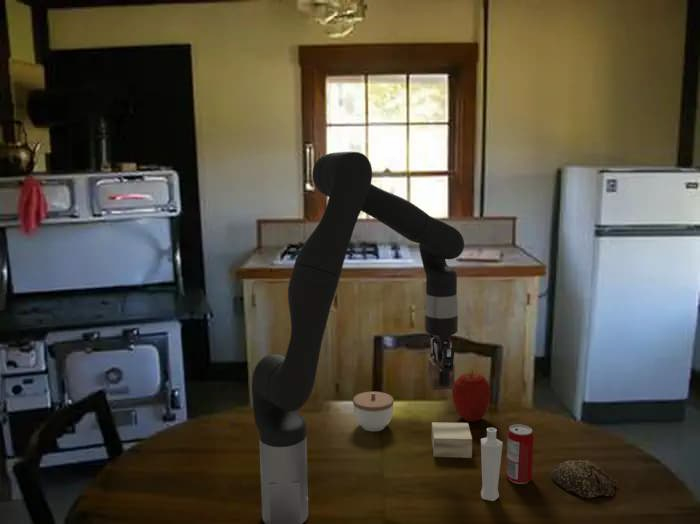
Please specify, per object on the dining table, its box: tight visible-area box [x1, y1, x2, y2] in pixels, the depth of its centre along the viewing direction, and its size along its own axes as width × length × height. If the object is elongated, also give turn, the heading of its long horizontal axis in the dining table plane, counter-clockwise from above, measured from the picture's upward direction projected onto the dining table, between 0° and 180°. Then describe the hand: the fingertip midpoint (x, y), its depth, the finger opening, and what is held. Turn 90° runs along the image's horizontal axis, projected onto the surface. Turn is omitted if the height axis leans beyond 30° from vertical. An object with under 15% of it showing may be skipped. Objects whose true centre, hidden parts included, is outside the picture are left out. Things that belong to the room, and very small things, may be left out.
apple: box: [451, 370, 492, 423], centre depth 171 cm, size 10×10×14 cm
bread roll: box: [550, 459, 617, 499], centre depth 139 cm, size 13×12×5 cm
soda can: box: [505, 423, 534, 485], centre depth 140 cm, size 6×6×12 cm
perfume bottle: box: [480, 427, 504, 502], centre depth 133 cm, size 5×4×15 cm
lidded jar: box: [352, 391, 395, 432], centre depth 168 cm, size 11×11×9 cm
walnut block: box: [427, 357, 456, 391], centre depth 150 cm, size 5×5×6 cm
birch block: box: [431, 421, 473, 459], centre depth 155 cm, size 9×9×5 cm
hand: (441, 381), depth 150 cm, fingers closed on walnut block, 5 cm apart
